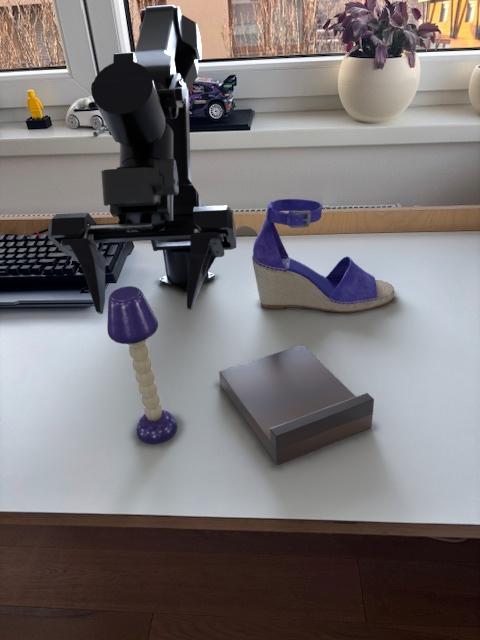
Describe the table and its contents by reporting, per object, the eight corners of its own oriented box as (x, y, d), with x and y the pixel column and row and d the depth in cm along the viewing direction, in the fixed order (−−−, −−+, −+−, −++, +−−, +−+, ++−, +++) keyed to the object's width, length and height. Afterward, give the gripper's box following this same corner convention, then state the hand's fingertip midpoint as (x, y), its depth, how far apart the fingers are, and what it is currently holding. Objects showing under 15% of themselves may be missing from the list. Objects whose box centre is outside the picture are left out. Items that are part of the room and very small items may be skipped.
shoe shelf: (220, 385, 63) (217, 358, 61) (302, 357, 67) (302, 331, 65) (276, 465, 52) (275, 436, 50) (371, 427, 56) (374, 399, 54)
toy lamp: (156, 453, 54) (128, 310, 46) (122, 437, 57) (88, 298, 48) (185, 423, 58) (164, 285, 49) (151, 410, 60) (125, 275, 51)
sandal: (398, 314, 74) (410, 208, 66) (253, 314, 76) (247, 212, 68) (391, 286, 80) (400, 187, 73) (257, 286, 83) (252, 191, 75)
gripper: (29, 133, 51) (17, 292, 47) (226, 122, 50) (230, 283, 46) (71, 188, 62) (65, 321, 58) (234, 180, 61) (238, 314, 57)
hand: (144, 311), depth 55 cm, fingers open, 9 cm apart
